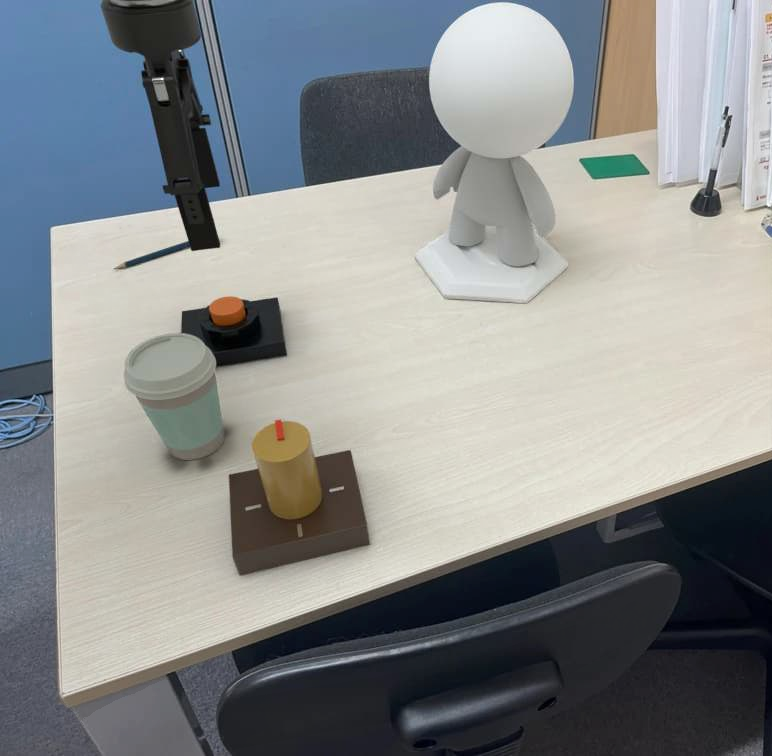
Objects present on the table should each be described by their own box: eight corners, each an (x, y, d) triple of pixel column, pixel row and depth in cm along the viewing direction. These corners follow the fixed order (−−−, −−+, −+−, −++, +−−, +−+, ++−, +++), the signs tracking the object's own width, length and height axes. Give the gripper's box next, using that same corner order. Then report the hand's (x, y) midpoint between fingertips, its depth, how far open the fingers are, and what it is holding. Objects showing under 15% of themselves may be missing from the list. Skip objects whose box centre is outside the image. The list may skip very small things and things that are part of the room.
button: (212, 329, 86) (209, 317, 85) (212, 310, 89) (208, 298, 88) (246, 323, 87) (243, 312, 86) (245, 305, 90) (242, 294, 89)
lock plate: (239, 575, 65) (231, 555, 63) (235, 493, 72) (228, 473, 70) (370, 544, 68) (367, 524, 66) (353, 468, 75) (350, 448, 73)
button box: (185, 372, 86) (176, 346, 83) (186, 324, 93) (177, 299, 90) (287, 355, 89) (281, 330, 86) (280, 310, 96) (275, 285, 93)
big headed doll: (586, 251, 110) (616, 2, 87) (504, 323, 95) (515, 47, 72) (480, 214, 118) (482, -23, 95) (389, 275, 103) (366, 12, 80)
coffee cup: (224, 403, 82) (198, 320, 74) (247, 450, 77) (222, 365, 69) (146, 430, 78) (110, 345, 70) (165, 482, 73) (128, 396, 65)
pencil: (215, 239, 109) (115, 273, 102) (212, 237, 110) (112, 270, 102) (214, 234, 109) (113, 268, 101) (211, 232, 109) (110, 265, 102)
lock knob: (325, 512, 67) (313, 452, 61) (271, 525, 66) (253, 465, 60) (318, 473, 70) (306, 413, 65) (266, 485, 69) (249, 425, 64)
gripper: (113, -36, 70) (174, 168, 84) (78, 41, 52) (162, 283, 66) (194, -39, 71) (240, 161, 85) (187, 35, 54) (246, 272, 68)
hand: (206, 215), depth 76 cm, fingers open, 13 cm apart
